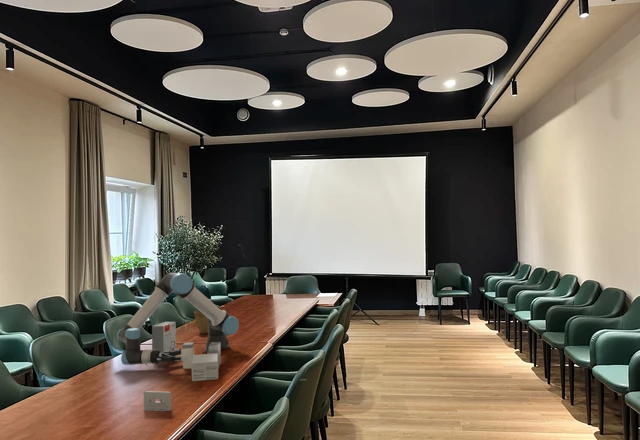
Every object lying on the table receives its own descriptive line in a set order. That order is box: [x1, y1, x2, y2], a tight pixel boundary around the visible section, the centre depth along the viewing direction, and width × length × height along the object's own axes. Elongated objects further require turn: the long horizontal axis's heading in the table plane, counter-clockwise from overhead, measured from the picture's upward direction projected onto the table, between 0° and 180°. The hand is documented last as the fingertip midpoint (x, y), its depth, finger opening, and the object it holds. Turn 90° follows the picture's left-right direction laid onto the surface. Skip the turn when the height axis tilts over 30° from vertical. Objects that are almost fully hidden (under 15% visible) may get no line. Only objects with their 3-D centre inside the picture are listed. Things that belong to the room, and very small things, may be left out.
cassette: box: [143, 390, 172, 412], centre depth 200 cm, size 12×2×8 cm, turn 81°
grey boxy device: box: [208, 342, 222, 369], centre depth 266 cm, size 9×10×12 cm
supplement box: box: [191, 353, 219, 382], centre depth 248 cm, size 17×13×9 cm
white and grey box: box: [182, 341, 195, 370], centre depth 265 cm, size 9×6×13 cm, turn 94°
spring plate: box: [202, 347, 208, 354], centre depth 266 cm, size 1×8×8 cm, turn 4°
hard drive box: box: [151, 321, 177, 353], centre depth 291 cm, size 16×8×20 cm, turn 168°
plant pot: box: [193, 310, 208, 334], centre depth 361 cm, size 15×15×16 cm
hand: (190, 354), depth 265 cm, fingers open, 13 cm apart
